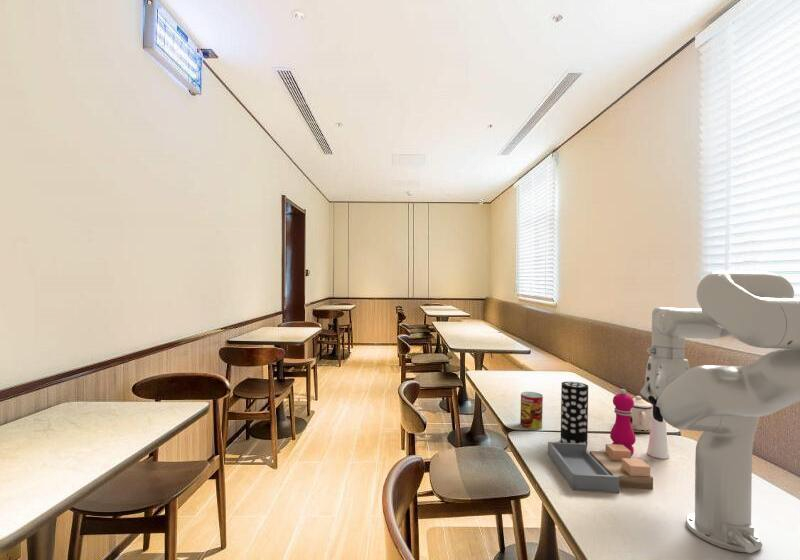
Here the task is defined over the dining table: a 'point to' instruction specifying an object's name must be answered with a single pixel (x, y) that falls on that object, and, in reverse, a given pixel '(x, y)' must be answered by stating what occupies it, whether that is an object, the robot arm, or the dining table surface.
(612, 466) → the board
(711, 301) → the robot arm
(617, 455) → the tile
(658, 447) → the cosmetic bottle
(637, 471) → the tile
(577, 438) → the spotted tube
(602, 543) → the dining table surface
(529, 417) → the canned food
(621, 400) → the pepper mill
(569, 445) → the box
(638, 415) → the teacup with lid
